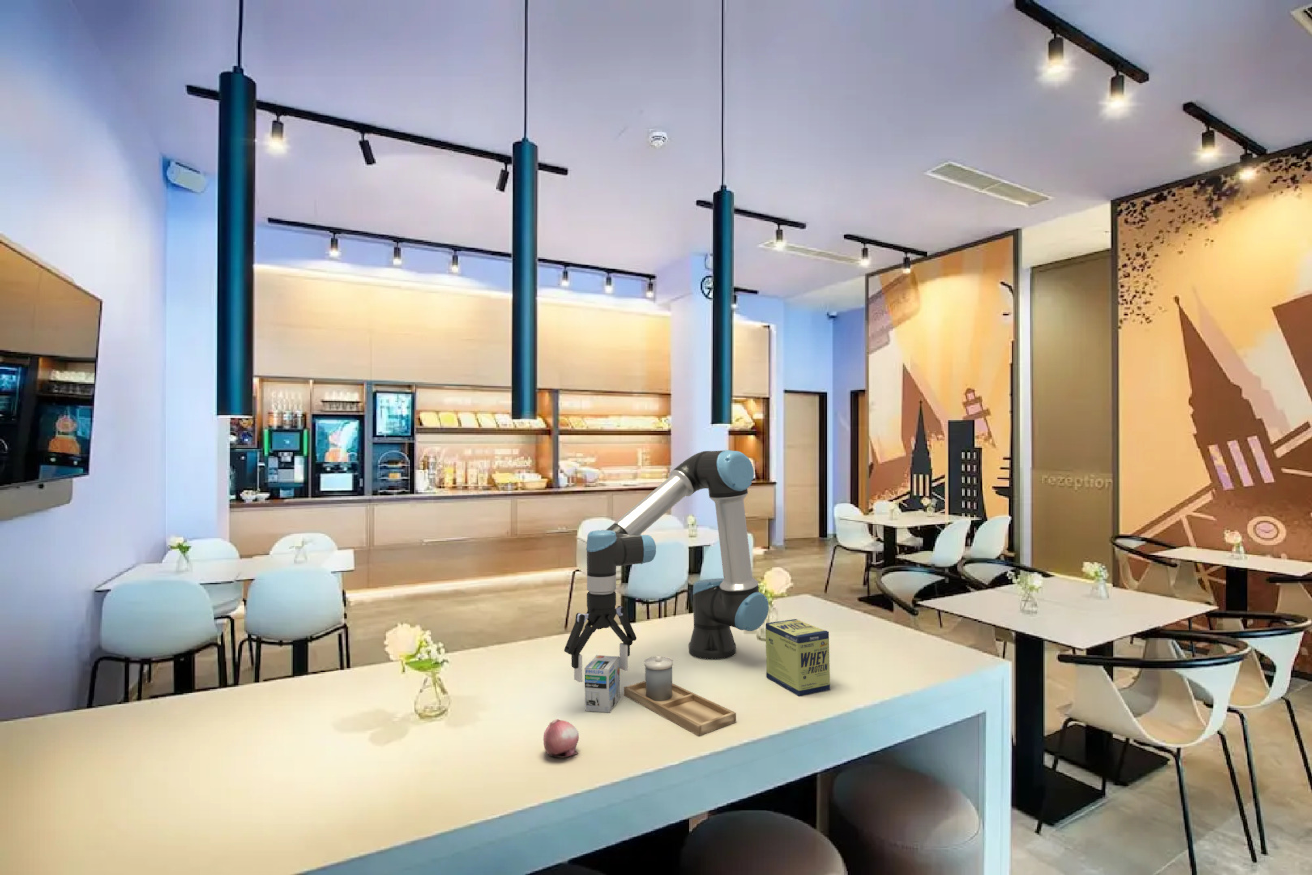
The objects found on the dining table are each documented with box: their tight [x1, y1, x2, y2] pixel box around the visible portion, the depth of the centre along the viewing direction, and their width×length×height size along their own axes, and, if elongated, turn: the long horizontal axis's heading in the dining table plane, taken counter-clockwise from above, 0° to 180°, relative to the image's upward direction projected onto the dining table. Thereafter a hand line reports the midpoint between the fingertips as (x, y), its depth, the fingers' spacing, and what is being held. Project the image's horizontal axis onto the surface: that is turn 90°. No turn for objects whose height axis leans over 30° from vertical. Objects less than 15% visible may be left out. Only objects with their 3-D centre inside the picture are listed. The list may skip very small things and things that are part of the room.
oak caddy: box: [623, 680, 737, 737], centre depth 155 cm, size 12×30×2 cm, turn 37°
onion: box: [542, 718, 580, 758], centre depth 133 cm, size 8×8×7 cm
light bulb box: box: [583, 654, 621, 714], centre depth 159 cm, size 11×7×11 cm, turn 168°
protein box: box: [765, 618, 831, 697], centre depth 170 cm, size 10×16×16 cm
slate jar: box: [643, 655, 674, 701], centre depth 161 cm, size 7×7×10 cm
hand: (601, 674), depth 159 cm, fingers open, 13 cm apart
